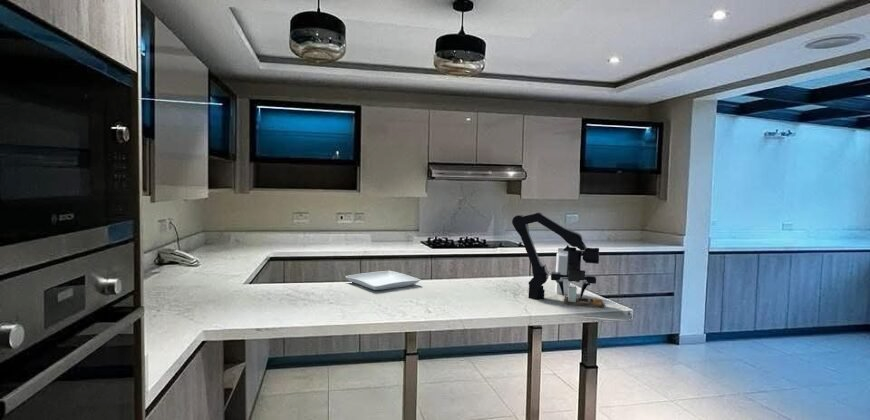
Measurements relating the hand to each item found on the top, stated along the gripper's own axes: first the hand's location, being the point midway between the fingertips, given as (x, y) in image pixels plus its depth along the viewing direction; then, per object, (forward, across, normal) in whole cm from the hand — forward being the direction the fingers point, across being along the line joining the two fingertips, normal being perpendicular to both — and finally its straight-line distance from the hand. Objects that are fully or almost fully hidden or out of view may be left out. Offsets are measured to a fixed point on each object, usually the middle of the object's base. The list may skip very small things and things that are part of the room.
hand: (571, 297), depth 209 cm
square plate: (+4, -89, +6) cm, 89 cm away
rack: (+3, +5, 0) cm, 6 cm away
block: (+2, 0, 0) cm, 2 cm away
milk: (+3, -4, +17) cm, 18 cm away
